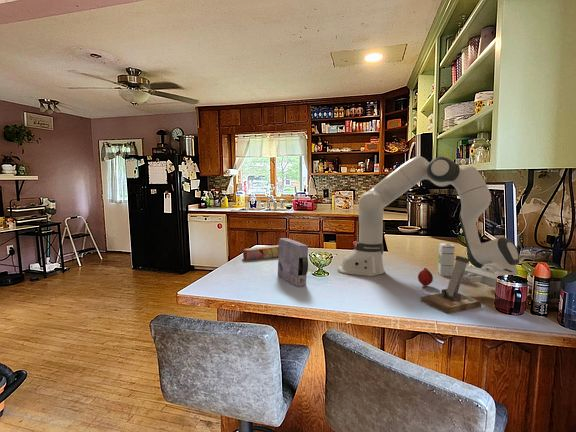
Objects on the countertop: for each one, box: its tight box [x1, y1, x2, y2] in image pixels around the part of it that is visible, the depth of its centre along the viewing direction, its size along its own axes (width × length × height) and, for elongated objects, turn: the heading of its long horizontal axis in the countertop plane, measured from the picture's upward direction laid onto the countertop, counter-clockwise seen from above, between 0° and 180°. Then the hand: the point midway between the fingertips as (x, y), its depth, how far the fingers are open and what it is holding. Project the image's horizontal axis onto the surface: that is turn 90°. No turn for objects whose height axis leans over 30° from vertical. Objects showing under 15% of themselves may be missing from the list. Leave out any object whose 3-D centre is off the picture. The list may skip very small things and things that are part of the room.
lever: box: [446, 255, 470, 299], centre depth 121 cm, size 2×4×15 cm, turn 24°
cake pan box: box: [277, 237, 309, 288], centre depth 147 cm, size 19×5×18 cm, turn 29°
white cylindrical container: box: [437, 242, 456, 277], centre depth 158 cm, size 6×6×14 cm
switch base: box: [420, 288, 482, 315], centre depth 121 cm, size 16×12×5 cm
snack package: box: [242, 244, 279, 261], centre depth 189 cm, size 21×7×7 cm, turn 115°
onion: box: [417, 267, 434, 287], centre depth 141 cm, size 6×6×8 cm
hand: (467, 278), depth 123 cm, fingers closed
